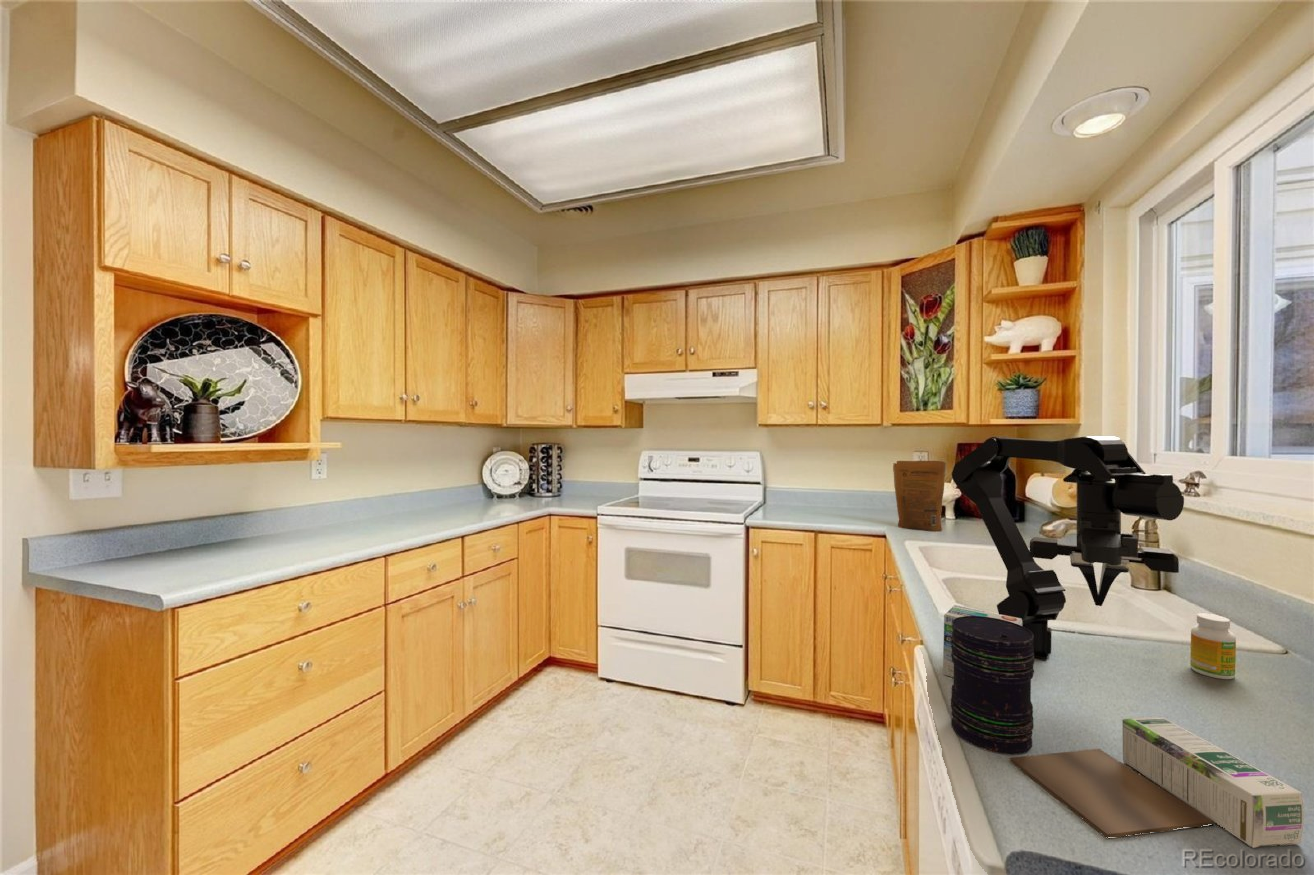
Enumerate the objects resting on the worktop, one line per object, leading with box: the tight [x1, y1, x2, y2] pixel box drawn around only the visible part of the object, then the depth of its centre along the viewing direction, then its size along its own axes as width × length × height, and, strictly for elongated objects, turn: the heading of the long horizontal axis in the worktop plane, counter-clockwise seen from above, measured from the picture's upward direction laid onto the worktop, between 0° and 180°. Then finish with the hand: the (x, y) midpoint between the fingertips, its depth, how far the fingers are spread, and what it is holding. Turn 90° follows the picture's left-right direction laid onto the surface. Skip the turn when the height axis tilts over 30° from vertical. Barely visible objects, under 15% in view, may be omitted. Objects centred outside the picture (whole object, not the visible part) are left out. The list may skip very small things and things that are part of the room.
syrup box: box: [1122, 716, 1305, 849], centre depth 62 cm, size 6×6×14 cm
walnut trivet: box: [1009, 748, 1215, 839], centre depth 63 cm, size 13×13×1 cm
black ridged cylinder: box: [950, 616, 1035, 756], centre depth 75 cm, size 10×10×15 cm
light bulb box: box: [942, 604, 1022, 678], centre depth 91 cm, size 11×7×11 cm, turn 47°
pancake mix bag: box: [892, 460, 947, 532], centre depth 216 cm, size 7×19×28 cm, turn 55°
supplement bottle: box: [1189, 612, 1237, 680], centre depth 93 cm, size 5×5×10 cm
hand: (1098, 605), depth 89 cm, fingers closed
